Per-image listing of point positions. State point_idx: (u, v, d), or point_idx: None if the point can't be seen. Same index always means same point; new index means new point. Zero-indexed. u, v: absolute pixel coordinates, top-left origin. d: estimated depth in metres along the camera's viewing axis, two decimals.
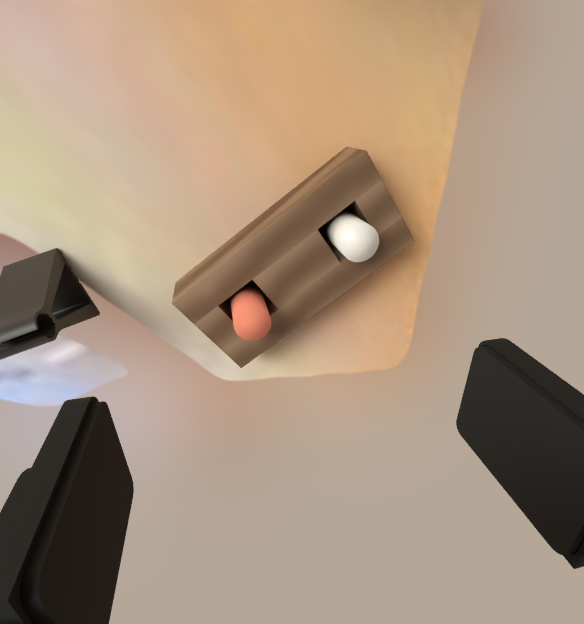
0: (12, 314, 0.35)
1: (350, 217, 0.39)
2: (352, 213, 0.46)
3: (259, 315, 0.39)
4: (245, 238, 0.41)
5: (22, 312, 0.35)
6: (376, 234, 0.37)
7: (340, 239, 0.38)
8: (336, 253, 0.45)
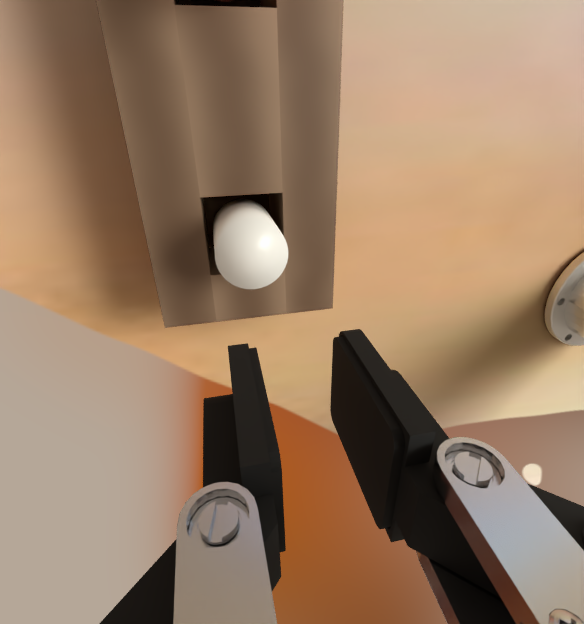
0: None
1: None
2: None
3: None
4: None
5: None
6: (250, 286, 0.21)
7: (274, 224, 0.20)
8: (201, 196, 0.24)
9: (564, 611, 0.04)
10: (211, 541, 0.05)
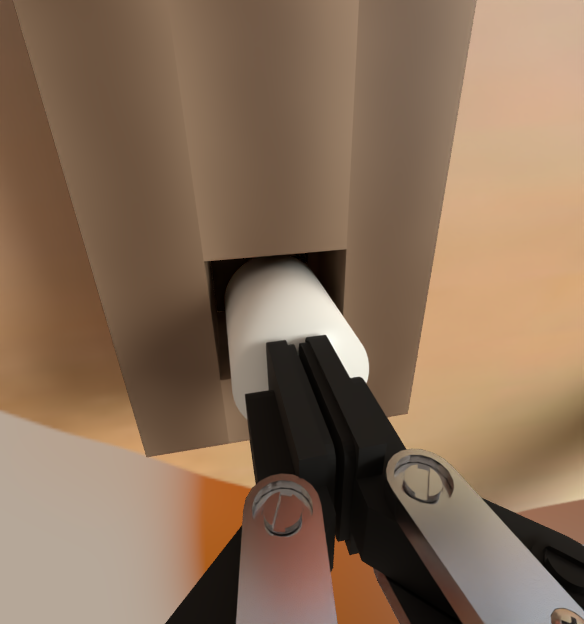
0: None
1: None
2: None
3: None
4: None
5: None
6: None
7: (344, 321, 0.11)
8: None
9: None
10: (274, 529, 0.06)
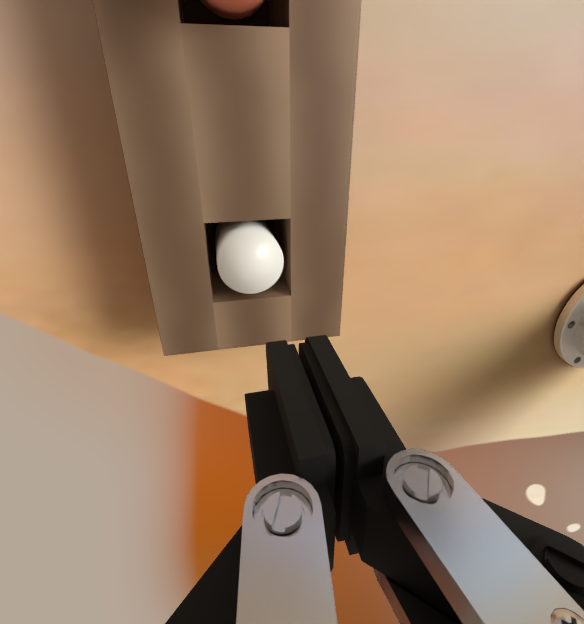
0: None
1: None
2: None
3: None
4: None
5: None
6: (248, 291, 0.23)
7: (272, 235, 0.22)
8: None
9: None
10: (274, 529, 0.06)
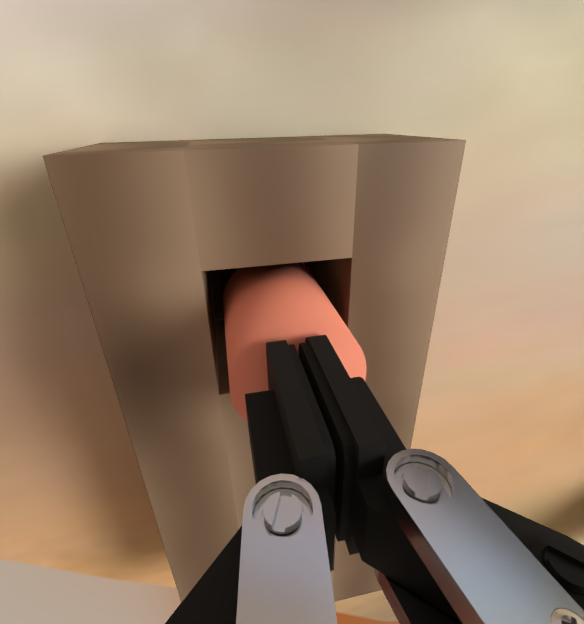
0: None
1: None
2: None
3: None
4: None
5: None
6: None
7: None
8: None
9: None
10: (274, 530, 0.06)
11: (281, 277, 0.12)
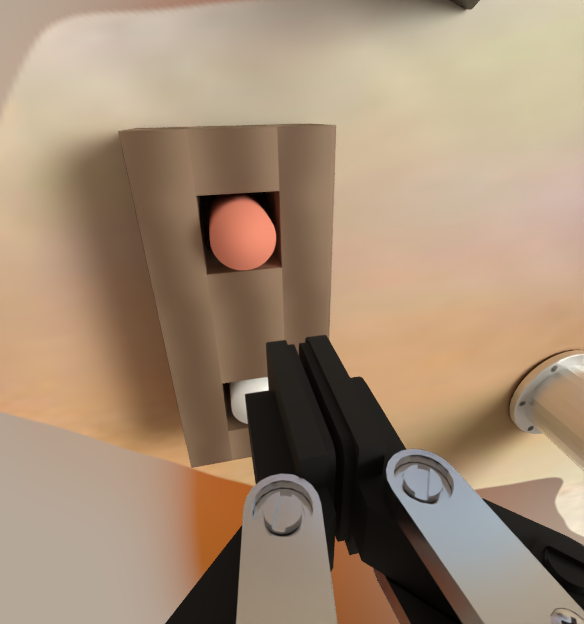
0: None
1: None
2: None
3: (251, 257, 0.23)
4: None
5: None
6: None
7: None
8: None
9: None
10: (274, 530, 0.06)
11: (237, 196, 0.24)
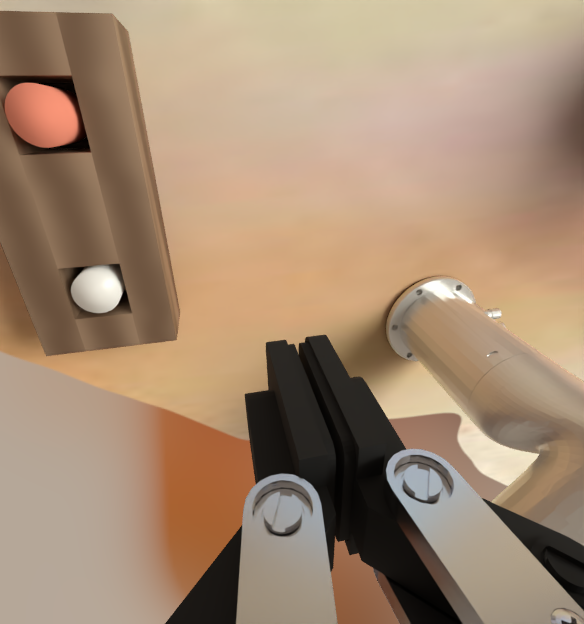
0: None
1: None
2: None
3: (50, 135, 0.26)
4: (148, 175, 0.32)
5: None
6: (98, 311, 0.34)
7: (111, 274, 0.33)
8: None
9: None
10: (274, 529, 0.06)
11: None
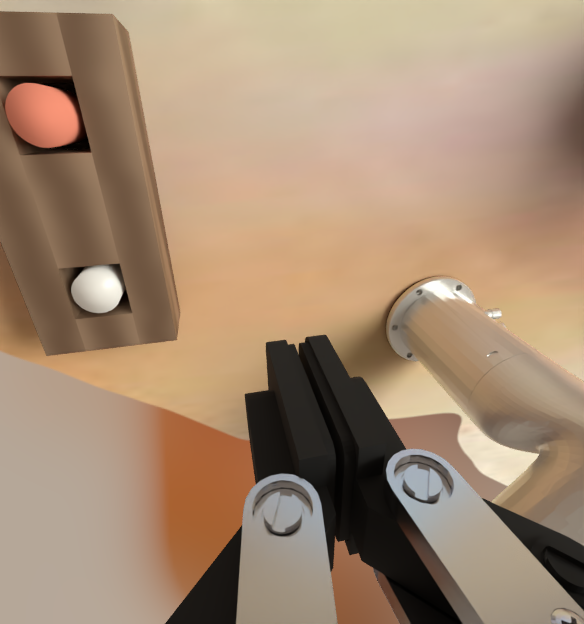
0: None
1: None
2: None
3: (50, 135, 0.26)
4: (148, 175, 0.32)
5: None
6: (98, 311, 0.34)
7: (111, 274, 0.33)
8: None
9: None
10: (274, 529, 0.06)
11: None
